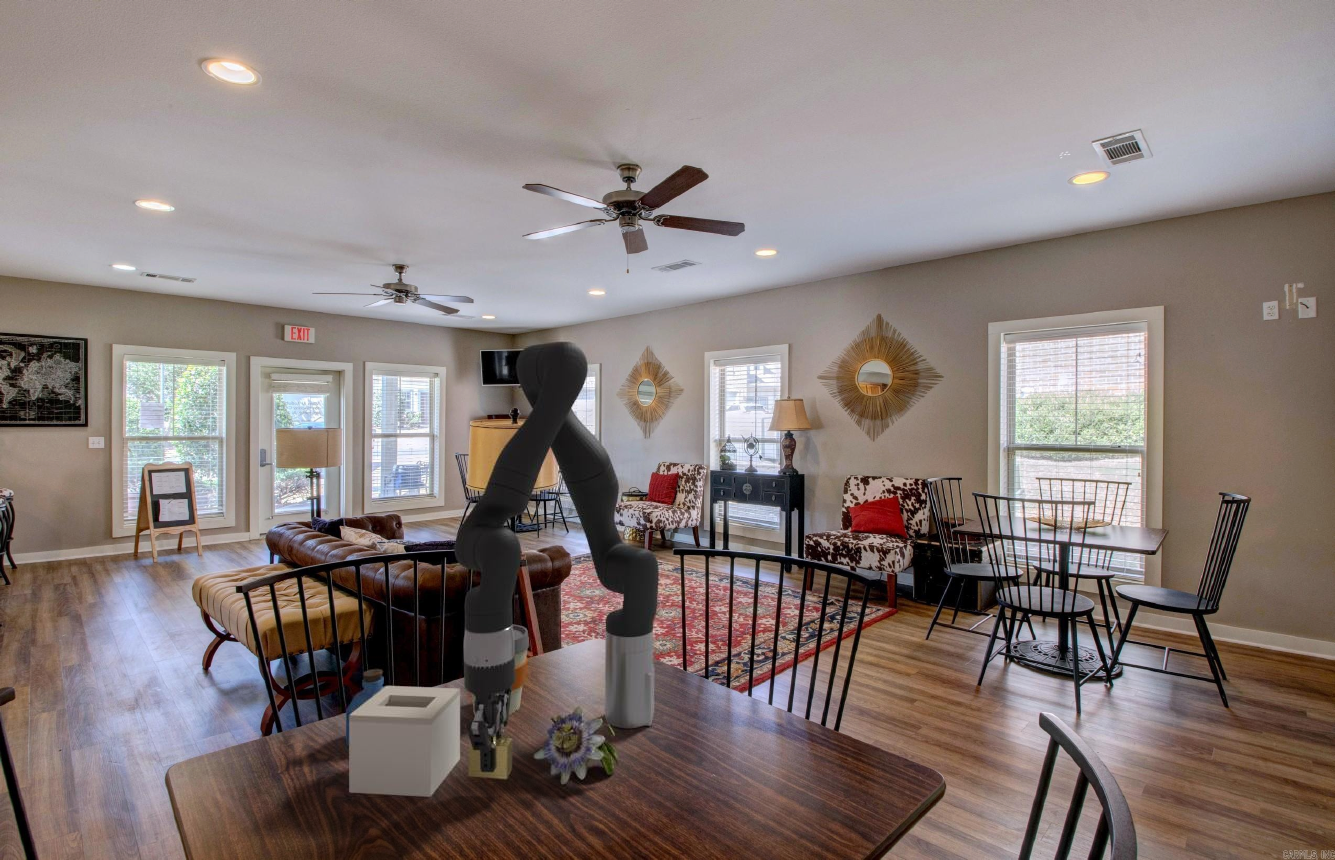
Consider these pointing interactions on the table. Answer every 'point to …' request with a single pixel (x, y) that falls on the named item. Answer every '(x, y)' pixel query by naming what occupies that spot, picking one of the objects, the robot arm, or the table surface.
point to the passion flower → (576, 746)
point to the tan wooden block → (501, 758)
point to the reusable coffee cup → (518, 666)
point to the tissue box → (404, 741)
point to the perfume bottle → (365, 693)
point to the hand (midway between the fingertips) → (491, 765)
